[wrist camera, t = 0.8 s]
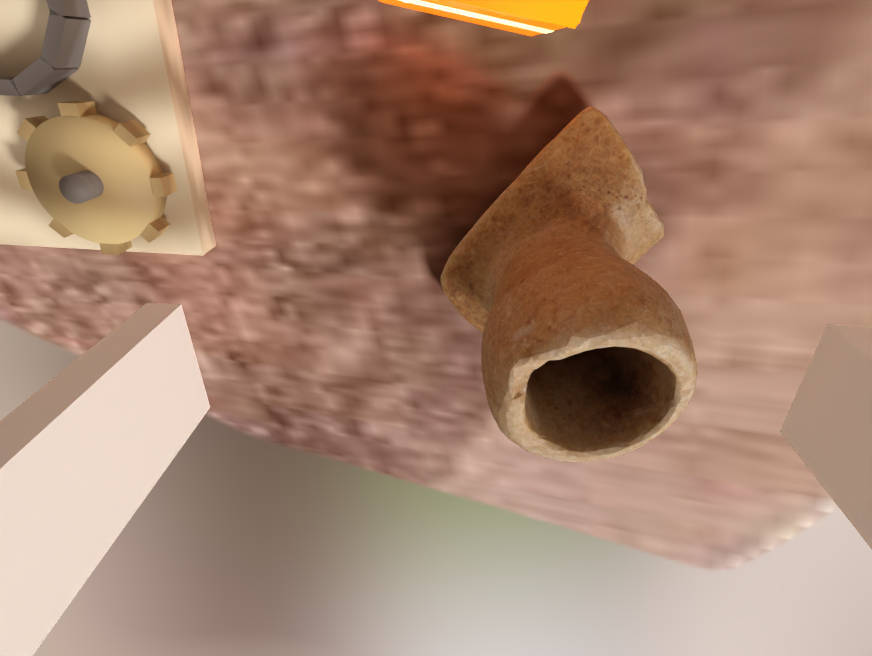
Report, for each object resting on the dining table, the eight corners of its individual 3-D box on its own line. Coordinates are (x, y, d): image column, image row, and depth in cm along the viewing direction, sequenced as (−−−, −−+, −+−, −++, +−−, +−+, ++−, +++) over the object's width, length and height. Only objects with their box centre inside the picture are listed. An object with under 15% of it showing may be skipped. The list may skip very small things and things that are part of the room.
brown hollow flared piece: (535, 367, 39) (568, 525, 26) (419, 271, 36) (390, 396, 23) (704, 227, 33) (855, 341, 20) (583, 97, 30) (671, 132, 17)
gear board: (-163, -179, 26) (-307, -231, 21) (140, -171, 25) (63, -223, 21) (-1, 233, 37) (-73, 261, 32) (215, 245, 36) (176, 275, 31)
